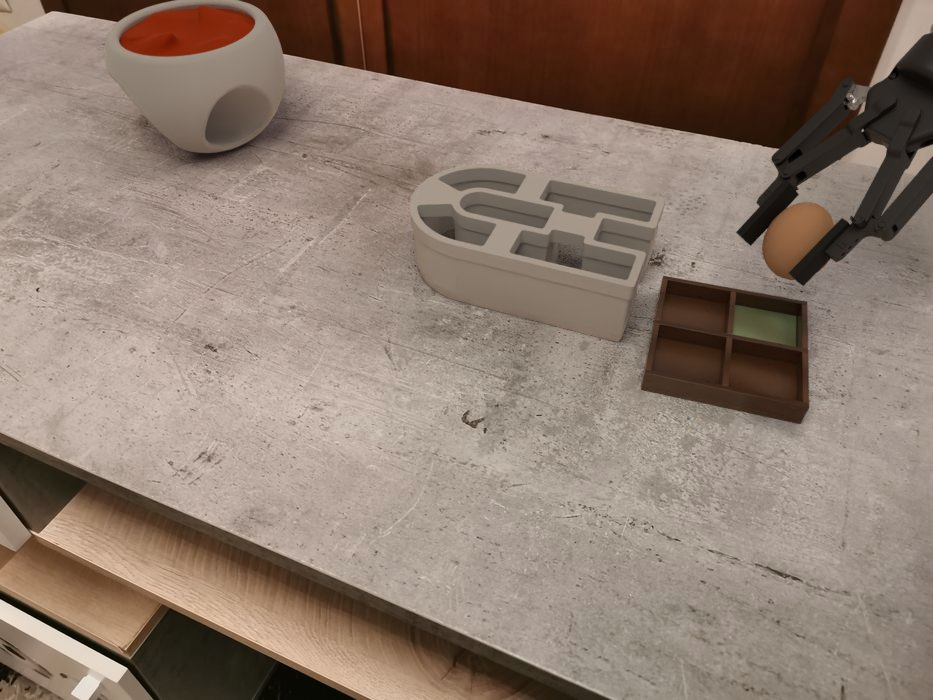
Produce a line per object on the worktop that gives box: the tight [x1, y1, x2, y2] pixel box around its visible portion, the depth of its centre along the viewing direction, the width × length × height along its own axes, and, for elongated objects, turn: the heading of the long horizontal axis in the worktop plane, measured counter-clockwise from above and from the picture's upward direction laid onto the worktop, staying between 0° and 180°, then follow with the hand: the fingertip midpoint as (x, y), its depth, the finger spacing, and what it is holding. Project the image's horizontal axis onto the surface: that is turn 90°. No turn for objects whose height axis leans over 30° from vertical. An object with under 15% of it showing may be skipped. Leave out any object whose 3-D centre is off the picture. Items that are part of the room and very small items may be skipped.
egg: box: [761, 201, 836, 281], centre depth 71 cm, size 6×6×8 cm
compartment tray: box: [640, 275, 810, 425], centre depth 78 cm, size 16×16×3 cm
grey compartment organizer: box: [409, 163, 666, 343], centre depth 86 cm, size 17×28×9 cm, turn 68°
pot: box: [104, 0, 286, 154], centre depth 106 cm, size 24×24×18 cm
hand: (769, 258), depth 70 cm, fingers closed on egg, 6 cm apart
